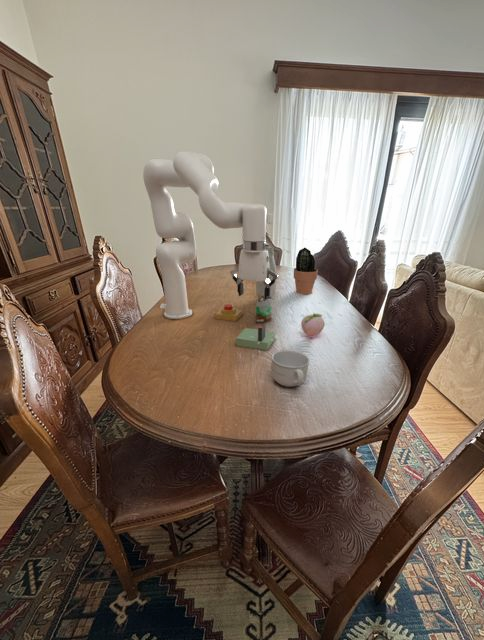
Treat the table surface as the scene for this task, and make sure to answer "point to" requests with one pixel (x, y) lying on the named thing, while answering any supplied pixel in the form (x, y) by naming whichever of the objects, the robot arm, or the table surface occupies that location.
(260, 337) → the black rectangular slab
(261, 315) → the food container
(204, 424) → the table surface
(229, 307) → the button
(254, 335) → the panel
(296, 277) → the potted plant
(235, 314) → the button block
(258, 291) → the glass bottle
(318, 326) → the decorative fruit
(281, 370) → the teacup
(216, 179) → the robot arm
